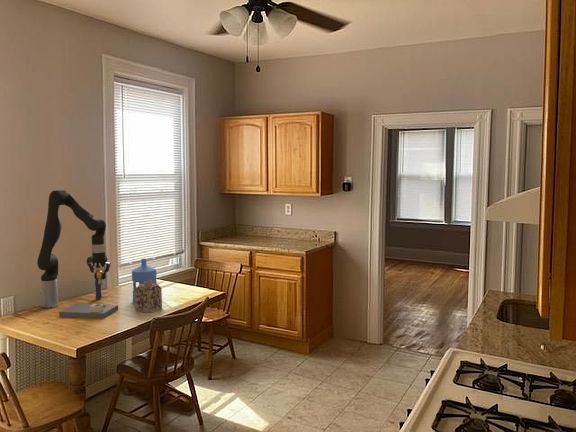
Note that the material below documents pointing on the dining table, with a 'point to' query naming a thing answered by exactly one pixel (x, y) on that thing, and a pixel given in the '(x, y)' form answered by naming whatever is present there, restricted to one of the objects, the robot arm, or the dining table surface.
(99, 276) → the orange rounded piece
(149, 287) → the decorative jar
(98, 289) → the rubber mallet
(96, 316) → the board
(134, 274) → the water jug
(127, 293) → the dining table surface
